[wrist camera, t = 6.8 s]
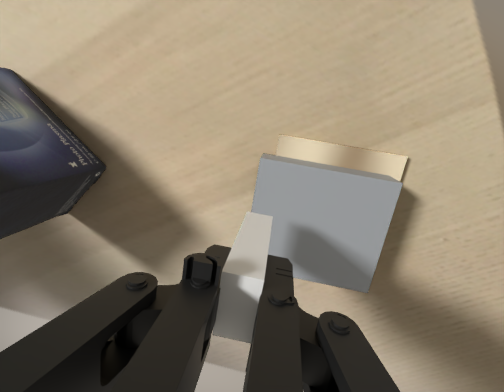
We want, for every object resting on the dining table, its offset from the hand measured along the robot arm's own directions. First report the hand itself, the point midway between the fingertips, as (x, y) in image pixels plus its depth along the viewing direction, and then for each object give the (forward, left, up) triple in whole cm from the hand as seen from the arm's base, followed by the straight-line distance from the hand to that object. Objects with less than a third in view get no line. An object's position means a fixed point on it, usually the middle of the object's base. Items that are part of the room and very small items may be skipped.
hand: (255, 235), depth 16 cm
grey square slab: (-1, 0, -4) cm, 4 cm away
